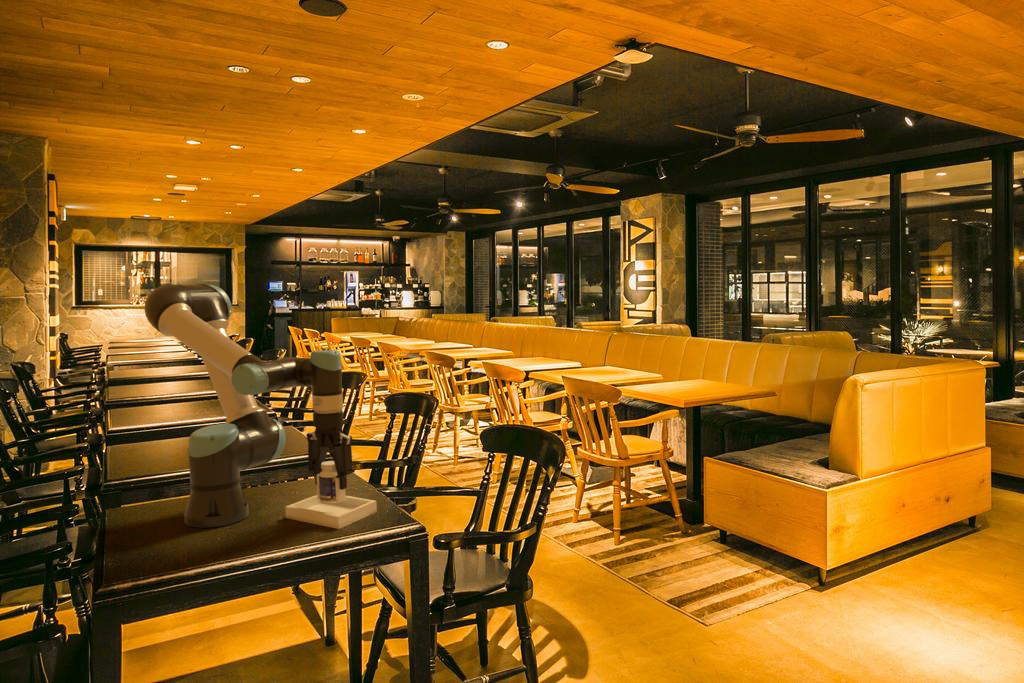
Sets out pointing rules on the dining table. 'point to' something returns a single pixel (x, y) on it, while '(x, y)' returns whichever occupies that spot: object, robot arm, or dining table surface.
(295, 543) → the dining table surface
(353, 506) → the serving tray
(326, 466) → the pill bottle
